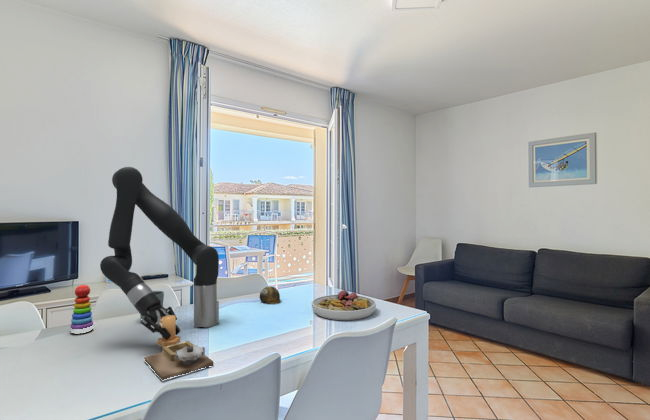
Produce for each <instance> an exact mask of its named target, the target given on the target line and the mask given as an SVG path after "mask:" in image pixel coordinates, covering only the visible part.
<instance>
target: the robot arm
mask: <svg viewBox="0 0 650 420" xmlns="http://www.w3.org/2000/svg"><path fill="white" fill-rule="evenodd" d="M111 181H112V182H111V183H112V185H113V187H114V188H115V189H116V198H115V199H116V200H115V207H114V210H113V211H114V212H113V215H112V219H111V222H110V227H109V233H108V241H107V242H108V243H107V245H108V247H109V248H110V249H113V252H114V255H108V256H105V257H103V258H102V260H101V261H100V264H99V265H100V266H99V268H100V271H101V273H102V274H103V276H104V277H106V279H108V280H109V281H111V283H113V284H114V285H116V286H117V287H119V288H120V289H121V291H122V292H123V293H124V294H125V297H127V298H128V301H129V302H130V303H131V304H132V306H133V308H135V309H136V311H137V312H138V313H139V314H141V315H142V316H145V317H144V318H143V319H142V320H141V319H140V324H141V325H143V326H144V327H145V328H146V329H147V330H148V331H150V332H151V333H154V334H155V333H159V334H160V335H161V337H162V336H163V338H164V339H166V340H168V339H169V338H170V337H171V334H170V333H169V332H168V331H167V329H166V328H164V326H163V324H162V317H164V316H167V315H175V316H176V321H177V320H178V317H177V315H176V313H175V312H174V310H173V308H172V306H168V307H167V308H165V307H164V306H163V307H162V306H161V300H160V299H159V298H158V297H157V296H156V294H155V293H154V292H153V291H154V290H152V288H151V287H150V286H149V285H148V284H146V282H145V281H144V280H143V279H142V277H140V275H139V274H137V272H132V271H130V270H131V267H132V265H133V255H132V247H131V239H132V234H133V233H132V232H133V225H134V224H133V223H134V214H135V208H136V206H137V207H138V208H139V209H140V211H141V212H142V213H143V214H144V215H145V217H147V219H148V220H149V221H151V223H152V224H153V225H154V226H155V227H156V228H157V229H158V230H159V231H161V232H162V233H163V235H165V236H166V237H167V238H168V239H170V240H171V241H172V242H173V243H175V245H177V246H179V247H180V249H182V251H183V252H184V253H185V254H186V255H187V256H188V257H189V259H190V261H192V263H193V264H194V265H195V266H196V268H195V270H196V271H195V276H194V278H193V327H194V326H196V327H195V328H197V327H208V328H212V327H215V326H216V325H219V324H220V320H219V319H220V316H219V315H220V307H219V305H220V304H219V300H218V299H217V298H218V297H217V296H218V293H217V292H218V290H217V289H218V287H217V286H218V285H217V284H218V283H217V282H218V277H219V267H220V265H219V262H220V260H219V256H220V255H219V252H218V250H217V249H216V248H214V246H210V245H207V244H205V243H204V242H203V241H201V240H200V239H199V238H198V237H197V236H196V235H195V234H194V233H193V232H192V231H191V229H190V227H189V226H188V224H187V222H186V221H185V219H184V218H183V217H182V216H181V215H180V214H179V213H178V211H176V210H175V209H174V208H173V207H172V206H171V205H170V204H168V203H166V201H164V200H162V199H161V198H159V197H157V196H156V195H155V194H154V193H152V192H151V191H150V189H148V187H147V186H146V185H145V183H144V182H143V176H142V173H141V172H140V171H139V170H138V169H137V168H135V167H132V166H124V167H121V168H119V169H118V170H116V171H115V172H114V173H113V175H112V178H111ZM211 326H212V327H211ZM180 332H181V329H180V327H179V326H178V325H177V324H176V336H178V335H179V333H180Z"/></svg>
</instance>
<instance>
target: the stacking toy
mask: <svg viewBox="0 0 650 420" xmlns="http://www.w3.org/2000/svg"><path fill="white" fill-rule="evenodd" d="M90 293H91V288H90V286H89V285H87V284H80V285H78V286H77V287H75V290H74V294H75V296H76V297H75V298H74V302H75V303H74V305H73V307H74V308H73V309H72V311H73V313H72V314H71V321H70V322H71V323H70V329H71V328H72V329H83V328H87V327H90V326H92V325H93V326H94V321H93V316H92V315H93V312H92V306H91V305H92V303H91V301H90V300H91V297H90V296H89V295H90Z"/></svg>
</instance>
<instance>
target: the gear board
mask: <svg viewBox="0 0 650 420" xmlns="http://www.w3.org/2000/svg"><path fill="white" fill-rule="evenodd" d="M161 351H162V352H159V353H155V354H150V355H147V356H144V357H143V360H144V359H145V361H146V362H147V363H148V364H149V365H150V366H151V368H152V369H153V370H154V371H155V373H156V374H157V375H158V376H159V377H160V378H161V379H162V380H164V379H167V378H170V377H174V376H178V375H182V374H186V373H189V372H191V371H195V370H198V369H201V368H205V367H209V366H213V367H214V360H212V359H211V358H210V357H208V356H207V355H205V352H206V350H205V347H204V346H199V345H194V344H193V343H192V342H191V341H189V340H186V341H182V342H181V341H180V342H179V343H176V344H173V345H169V346H165V347H162V346H161Z"/></svg>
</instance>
